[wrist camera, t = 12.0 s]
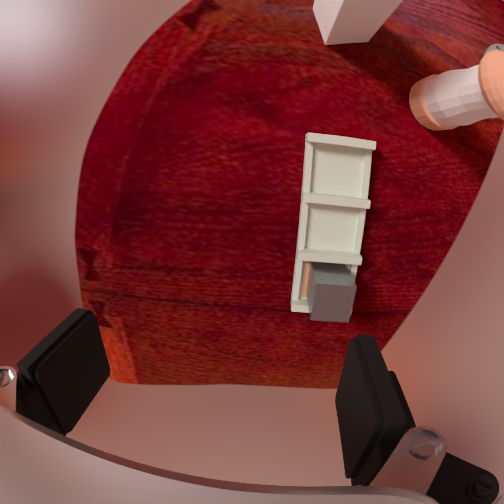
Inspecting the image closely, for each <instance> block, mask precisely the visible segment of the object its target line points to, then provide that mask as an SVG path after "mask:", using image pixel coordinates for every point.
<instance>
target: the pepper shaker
mask: <svg viewBox="0 0 504 504" xmlns="http://www.w3.org/2000/svg"><path fill="white" fill-rule="evenodd" d="M409 103H410V108H411V111H412V113H413V115H414V117H415V118H416V119H417V120H418V122H419V123H420V124H421V125H423V126H424V127H426V128H427V129H431V130H434V131H435V130H448V129H454V128H456V127H458V126H463V125H470V124H472V123H475V122H477V121H480V120H482V119H486V118H496V117H499V118H501V119H502V120H504V51H500V50H492V51H489V52H487V53H486V54H485V56H484V57H483V58H482V59H481V61H480V64H479V65H477V66H474V67H471V68H468V69H460V70H450V71H446V72H443V73H441V74H439V75H431V76H428V77H426V78H424V79H422V80H419V81H417V82H416V83H415V84H414V85H413V86H412V88H411V90H410V93H409Z"/></svg>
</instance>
